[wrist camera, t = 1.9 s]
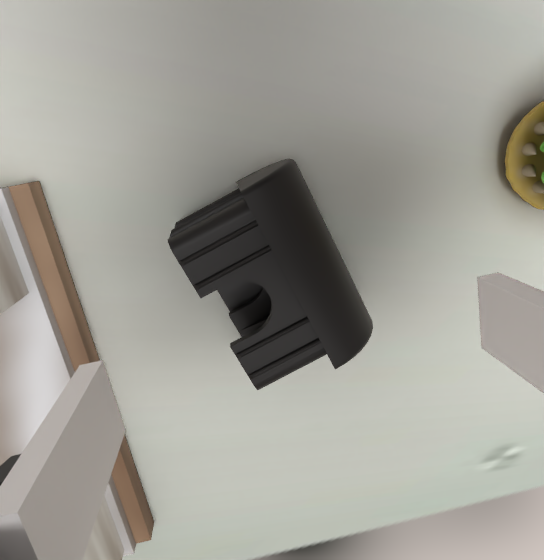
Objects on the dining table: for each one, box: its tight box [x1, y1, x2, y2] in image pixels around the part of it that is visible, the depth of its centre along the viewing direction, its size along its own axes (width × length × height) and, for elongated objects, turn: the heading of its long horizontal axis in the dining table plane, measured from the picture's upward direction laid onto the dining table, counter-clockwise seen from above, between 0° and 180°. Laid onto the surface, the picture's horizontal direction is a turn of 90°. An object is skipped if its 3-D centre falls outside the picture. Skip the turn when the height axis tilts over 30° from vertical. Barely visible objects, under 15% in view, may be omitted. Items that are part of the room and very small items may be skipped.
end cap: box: [168, 159, 373, 390], centre depth 24 cm, size 10×7×7 cm
